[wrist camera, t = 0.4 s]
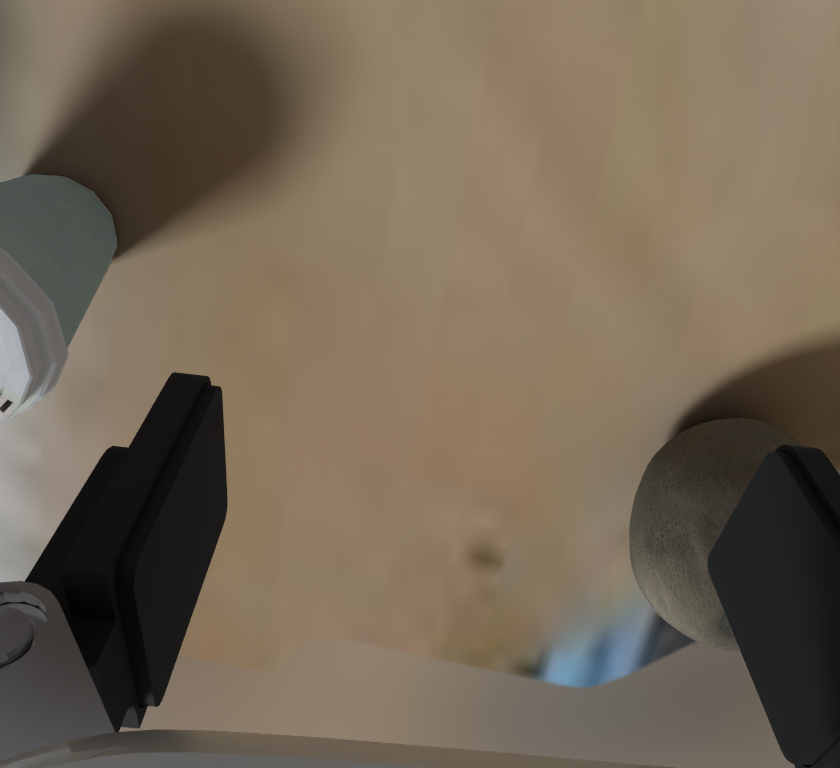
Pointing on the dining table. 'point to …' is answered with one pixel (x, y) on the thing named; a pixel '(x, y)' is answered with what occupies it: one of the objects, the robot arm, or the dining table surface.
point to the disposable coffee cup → (46, 279)
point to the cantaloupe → (694, 519)
